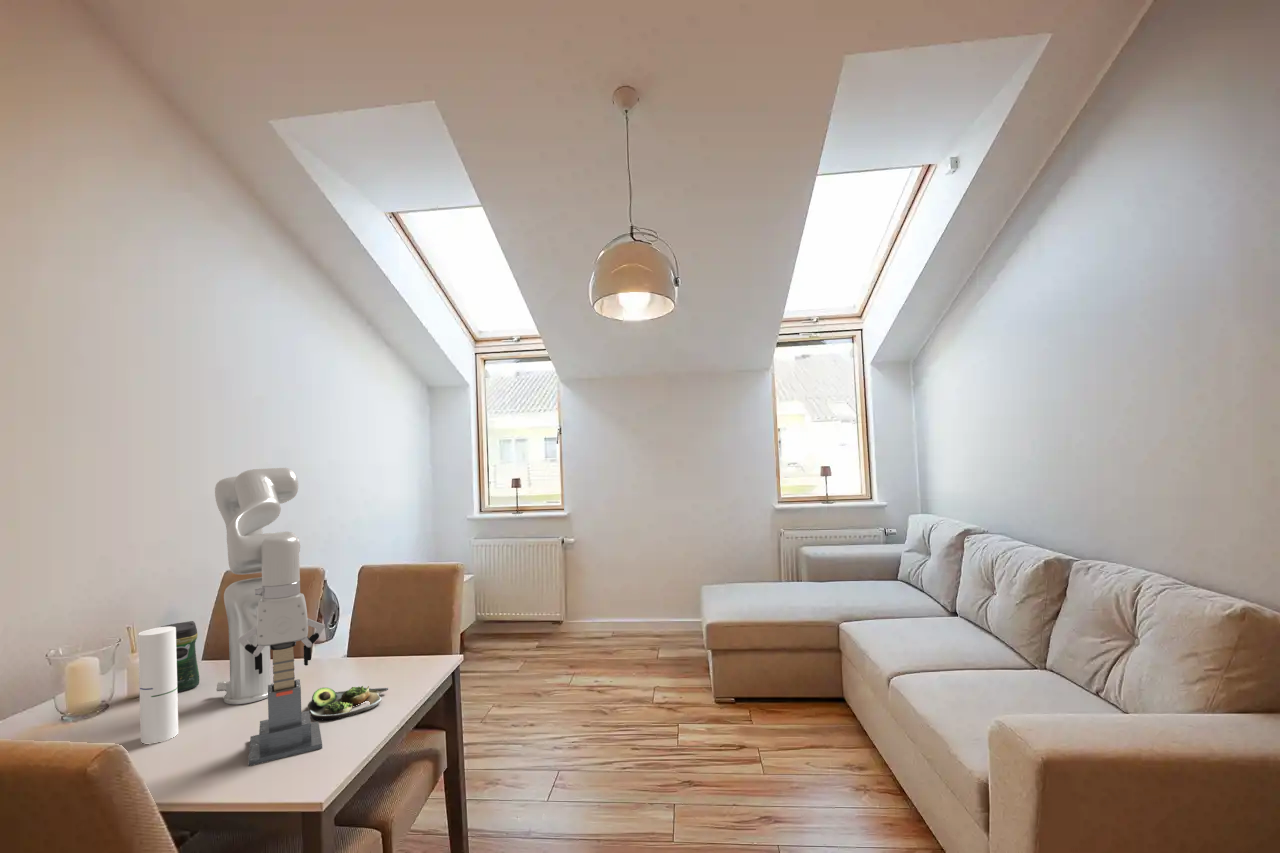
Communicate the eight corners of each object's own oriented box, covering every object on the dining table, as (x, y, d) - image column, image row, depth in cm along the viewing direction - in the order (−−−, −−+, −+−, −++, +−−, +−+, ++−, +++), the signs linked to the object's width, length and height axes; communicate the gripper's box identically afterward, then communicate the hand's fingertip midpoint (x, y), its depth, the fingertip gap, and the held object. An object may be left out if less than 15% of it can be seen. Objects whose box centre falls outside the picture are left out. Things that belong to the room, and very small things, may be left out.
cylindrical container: (153, 732, 156) (151, 627, 157) (185, 729, 157) (182, 625, 158) (133, 745, 149) (130, 636, 150) (166, 743, 150) (163, 634, 150)
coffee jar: (198, 680, 191) (197, 617, 192) (200, 688, 185) (198, 622, 185) (157, 689, 185) (156, 624, 186) (158, 697, 179) (156, 629, 180)
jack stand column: (272, 746, 143) (269, 646, 143) (272, 737, 147) (269, 640, 148) (299, 740, 146) (296, 641, 146) (298, 731, 150) (295, 636, 151)
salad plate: (382, 686, 182) (381, 669, 182) (397, 706, 167) (396, 688, 167) (304, 704, 171) (304, 686, 171) (313, 727, 156) (312, 708, 156)
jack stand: (248, 766, 137) (246, 703, 137) (250, 740, 149) (249, 683, 149) (322, 748, 144) (320, 689, 144) (318, 725, 156) (316, 671, 156)
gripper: (235, 600, 140) (237, 681, 139) (325, 588, 148) (327, 664, 148) (237, 593, 146) (239, 671, 146) (322, 582, 155) (325, 656, 154)
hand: (283, 667), depth 147 cm, fingers open, 8 cm apart
